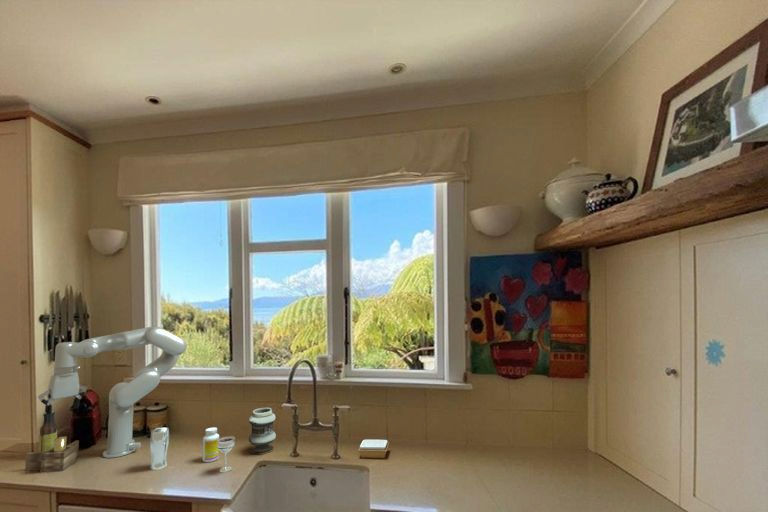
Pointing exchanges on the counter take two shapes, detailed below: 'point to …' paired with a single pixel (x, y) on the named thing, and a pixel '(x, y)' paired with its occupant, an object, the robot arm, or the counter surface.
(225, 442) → the wineglass
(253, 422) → the apothecary jar
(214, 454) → the supplement bottle
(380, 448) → the soap dish
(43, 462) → the wooden crate
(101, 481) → the counter surface
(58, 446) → the brass pin
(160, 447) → the beer glass
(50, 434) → the sauce bottle
